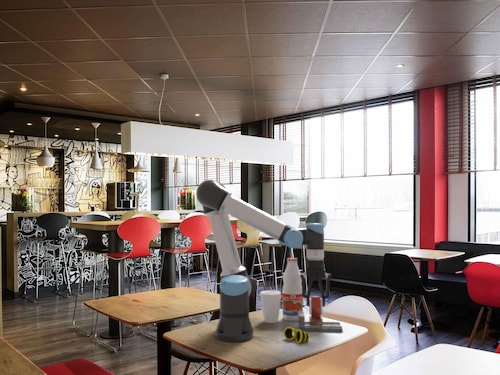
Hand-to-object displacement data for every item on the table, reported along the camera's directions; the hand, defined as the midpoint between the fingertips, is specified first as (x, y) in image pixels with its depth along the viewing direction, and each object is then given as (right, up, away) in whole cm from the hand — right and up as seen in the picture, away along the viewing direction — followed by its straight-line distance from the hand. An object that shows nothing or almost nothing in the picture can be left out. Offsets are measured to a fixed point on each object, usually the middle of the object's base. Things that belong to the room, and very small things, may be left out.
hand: (315, 313), depth 183 cm
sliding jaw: (0, -4, 0) cm, 4 cm away
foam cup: (-19, -7, +12) cm, 23 cm away
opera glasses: (-10, -6, -17) cm, 20 cm away
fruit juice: (-8, -7, +16) cm, 20 cm away
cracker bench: (+1, -6, 0) cm, 6 cm away
